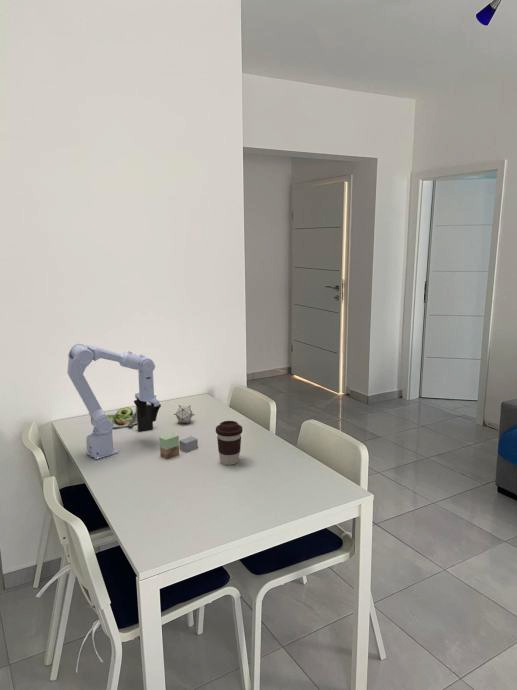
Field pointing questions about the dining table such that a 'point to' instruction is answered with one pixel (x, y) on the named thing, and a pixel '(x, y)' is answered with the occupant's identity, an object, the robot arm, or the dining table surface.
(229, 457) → the coffee cup
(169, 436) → the green brick
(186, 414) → the grey wireframe spiky ball
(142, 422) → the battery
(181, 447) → the grey brick
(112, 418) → the salad plate
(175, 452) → the walnut brick
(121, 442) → the dining table surface
